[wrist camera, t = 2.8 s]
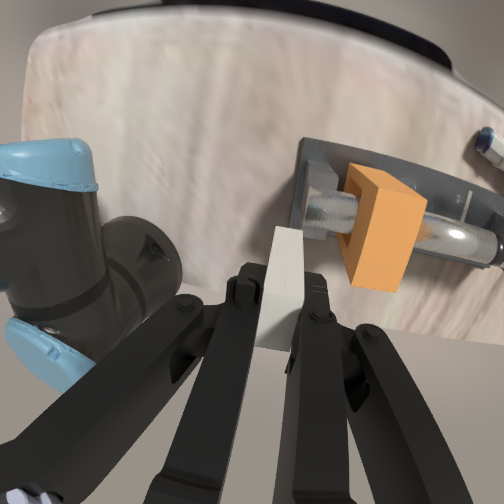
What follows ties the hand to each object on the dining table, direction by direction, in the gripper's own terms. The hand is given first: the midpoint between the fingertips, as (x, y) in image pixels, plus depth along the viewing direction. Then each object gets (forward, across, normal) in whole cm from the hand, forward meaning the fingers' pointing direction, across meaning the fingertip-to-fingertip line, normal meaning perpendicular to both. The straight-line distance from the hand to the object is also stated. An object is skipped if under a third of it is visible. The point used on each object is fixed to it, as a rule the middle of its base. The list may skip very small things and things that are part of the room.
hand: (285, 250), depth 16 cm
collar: (+16, +8, 0) cm, 17 cm away
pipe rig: (+19, +17, 0) cm, 25 cm away
